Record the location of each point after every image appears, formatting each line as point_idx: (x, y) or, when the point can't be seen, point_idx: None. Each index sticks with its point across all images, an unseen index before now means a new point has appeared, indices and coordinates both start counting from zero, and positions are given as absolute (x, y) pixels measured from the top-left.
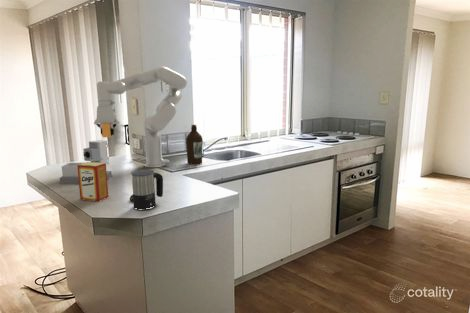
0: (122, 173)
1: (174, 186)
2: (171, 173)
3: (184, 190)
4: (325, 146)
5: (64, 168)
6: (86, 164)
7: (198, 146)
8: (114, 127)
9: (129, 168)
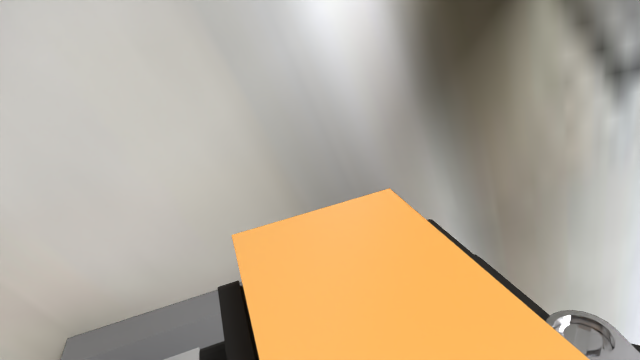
0: (364, 178)
1: (612, 305)
2: (616, 120)
3: (635, 330)
4: None
5: None
6: None
7: None
8: (604, 346)
9: (357, 21)
